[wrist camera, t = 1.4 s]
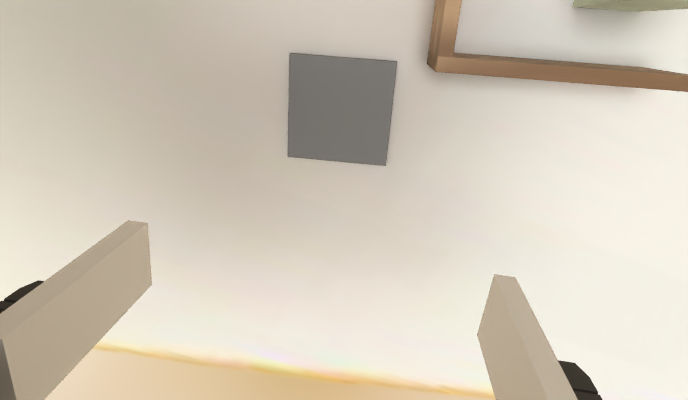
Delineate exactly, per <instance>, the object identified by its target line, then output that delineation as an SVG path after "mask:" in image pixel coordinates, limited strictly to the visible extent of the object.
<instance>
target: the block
mask: <svg viewBox="0 0 688 400" xmlns="http://www.w3.org/2000/svg"><path fill="white" fill-rule="evenodd" d="M572 7H579V8H594V9H609V10H623V11H638V12H641V11H657V10H673V9H688V0H574V2H573V6H572Z"/></svg>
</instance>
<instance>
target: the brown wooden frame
mask: <svg viewBox="0 0 688 400" xmlns="http://www.w3.org/2000/svg"><path fill="white" fill-rule="evenodd" d="M461 2H462V0H436V1H435V8H434V16H433V23H432V31H431V38H430V45H429V53H428V60H427V64H428V65H429V66H430V67H431V68H432V69H433V70H434V71H435V72H445V73H458V74H471V75H483V76H496V77H508V78H521V79H534V80H546V81H559V82H571V83H584V84H597V85H609V86H622V87H634V88H647V89H660V90H672V91H685V92H688V74H681V73H675V72H669V71H662V70H656V69H650V68H643V67H631V66H618V65H605V64H592V63H579V62H566V61H553V60H540V59H527V58H513V57H500V56H487V55H474V54H461V53H454V47H455V40H456V34H457V27H458V21H459V15H460V8H461Z"/></svg>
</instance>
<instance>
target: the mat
mask: <svg viewBox="0 0 688 400" xmlns="http://www.w3.org/2000/svg"><path fill="white" fill-rule="evenodd" d="M396 68H397V61H387V60H374V59H361V58H348V57H335V56H323V55H310V54H297V53H290V59H289V112H288V157H296V158H307V159H317V160H328V161H339V162H349V163H360V164H371V165H382V166H386V159H387V150H388V141H389V132H390V123H391V113H392V104H393V95H394V86H395V77H396Z"/></svg>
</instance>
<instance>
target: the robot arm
mask: <svg viewBox="0 0 688 400" xmlns="http://www.w3.org/2000/svg"><path fill="white" fill-rule="evenodd" d="M151 285H152V281H151V266H150V251H149V236H148V223H142V222H136V221H129V220H128V221H127V222H125V223H124V224H123V225H121V226H120V227H119V228H117V229H116V230H114V231H113V232H112V233H110V234H109V235H108V236H106V237H105V238H103V239H102V240H101V241H99V242H98V243H97V244H95V245H94V246H92V247H91V248H90V249H88V250H87V251H86V252H84V253H83V254H81V255H80V256H79V257H77V258H76V259H75V260H73V261H72V262H71V263H69V264H68V265H66V266H65V267H64V268H62V269H61V270H60V271H58V272H57V273H55V274H54V275H53V276H51V277H50V278H49V279H47V280H46V281H36V282H34V283H31V284H29V285H27V286H24V287H22V288H20V289H18V290H17V291H15V292H14V293H12V294H11V295H9V296H8V297H7V298H5V299H4V301H1V302H0V400H44V399H45V398H46V397H47V396H48V395H49V394H50V393H51V392H52V391H53V390H54V389H55V388H56V386H57V385H58V384H59V383H60V382H61V381H62V380H63V379H64V378H65V377H66V376H67V375H68V373H70V371H71V370H72V369H73V368H74V367H75V366H76V365H77V364H78V363H79V362H80V361H81V360H82V358H84V357H85V355H86V354H87V353H88V352H89V351H90V350H91V349H92V348H93V347H94V346H95V345H96V344H97V343H98V342H99V340H100V339H101V338H102V337H103V336H104V335H105V334H106V333H107V332H108V331H109V330H110V329H111V328H112V327H113V325H114V324H115V323H116V322H117V321H118V320H119V319H120V318H121V317H122V316H123V315H124V314H125V313H126V312H127V310H128V309H129V308H130V307H131V306H132V305H133V304H134V303H135V302H136V301H137V300H138V299H139V298H140V297H141V296H142V294H143V293H144V292H145V291H146V290H147V289H148V288H149V287H150V286H151ZM477 336H478V339H479V343H480V346H481V350H482V353H483V357H484V360H485V364H486V367H487V371H488V374H489V378H490V381H491V384H492V388H493V391H494V395H495V398H496V400H602V398H601V396H600V395H598V391H597V390H596V388H595V386H594V384H593V383H592V381H591V379H590V377H589V376H588V375H587V374H586V373H585V372H584V371H582V370H581V369H580V368H579V367H578V366H577V365H576V364H575V363H571V362H565V361H558V360H557V358H556V356H555V354H554V352H553V350H552V348H551V346H550V344H549V342H548V340H547V338H546V336H545V334H544V332H543V330H542V329H541V327H540V325H539V323H538V321H537V319H536V317H535V315H534V313H533V311H532V309H531V307H530V305H529V303H528V301H527V299H526V297H525V295H524V293H523V291H522V289H521V287H520V285H519V283H518V281H517V280H516V278H515V277H509V276H502V275H496V274H494V277H493V281H492V284H491V288H490V291H489V295H488V298H487V302H486V305H485V309H484V312H483V316H482V319H481V323H480V326H479V330H478V333H477Z"/></svg>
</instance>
